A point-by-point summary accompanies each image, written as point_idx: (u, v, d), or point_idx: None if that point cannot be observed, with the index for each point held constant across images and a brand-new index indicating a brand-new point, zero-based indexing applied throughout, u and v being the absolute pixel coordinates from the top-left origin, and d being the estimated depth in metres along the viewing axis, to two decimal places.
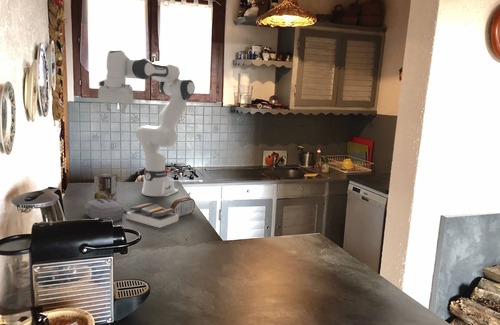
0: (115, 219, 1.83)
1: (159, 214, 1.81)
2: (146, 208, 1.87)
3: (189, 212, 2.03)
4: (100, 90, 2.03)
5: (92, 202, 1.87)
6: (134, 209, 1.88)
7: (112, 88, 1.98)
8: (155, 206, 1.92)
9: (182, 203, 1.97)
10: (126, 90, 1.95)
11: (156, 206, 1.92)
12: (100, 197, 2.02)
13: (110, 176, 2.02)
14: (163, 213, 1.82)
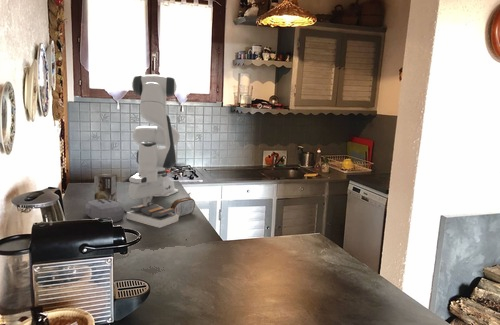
0: (115, 219, 1.83)
1: (159, 214, 1.81)
2: (146, 208, 1.87)
3: (189, 212, 2.03)
4: (138, 188, 1.81)
5: (92, 202, 1.87)
6: (134, 209, 1.88)
7: (153, 182, 1.88)
8: (155, 206, 1.92)
9: (182, 203, 1.97)
10: (162, 180, 1.96)
11: (156, 206, 1.92)
12: (100, 197, 2.02)
13: (110, 176, 2.02)
14: (163, 213, 1.82)
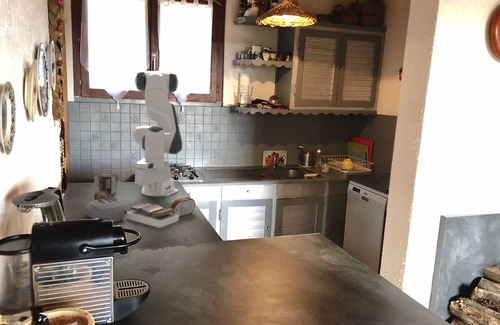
0: (116, 220, 1.82)
1: (159, 214, 1.81)
2: (146, 208, 1.87)
3: (189, 212, 2.03)
4: (145, 174, 1.78)
5: (93, 203, 1.87)
6: (134, 209, 1.88)
7: (160, 168, 1.85)
8: (155, 206, 1.92)
9: (182, 203, 1.97)
10: (169, 167, 1.93)
11: (156, 206, 1.92)
12: (100, 197, 2.02)
13: (110, 176, 2.02)
14: (163, 213, 1.82)
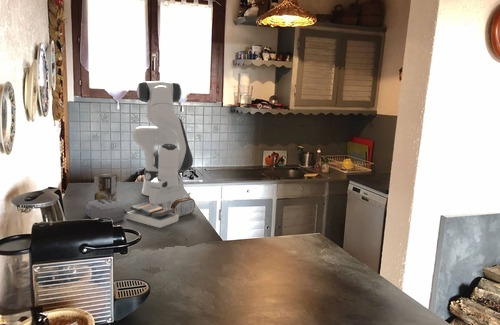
0: (116, 220, 1.82)
1: (159, 214, 1.81)
2: (146, 208, 1.87)
3: (189, 212, 2.03)
4: (159, 192, 1.75)
5: (93, 203, 1.87)
6: (134, 209, 1.88)
7: (174, 186, 1.82)
8: (155, 206, 1.92)
9: (182, 203, 1.97)
10: (182, 184, 1.90)
11: (156, 206, 1.92)
12: (100, 197, 2.02)
13: (110, 176, 2.02)
14: (163, 213, 1.82)
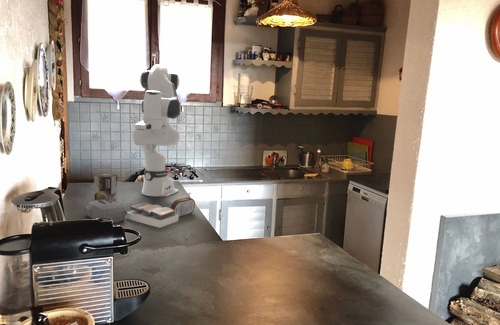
0: (117, 220, 1.82)
1: (159, 216, 1.81)
2: (146, 208, 1.87)
3: (189, 212, 2.03)
4: (143, 134, 1.88)
5: (93, 203, 1.86)
6: (134, 209, 1.88)
7: (158, 130, 1.95)
8: (155, 206, 1.92)
9: (182, 203, 1.97)
10: (166, 130, 2.03)
11: (156, 206, 1.92)
12: (100, 197, 2.02)
13: (110, 176, 2.02)
14: (163, 215, 1.83)
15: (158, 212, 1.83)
